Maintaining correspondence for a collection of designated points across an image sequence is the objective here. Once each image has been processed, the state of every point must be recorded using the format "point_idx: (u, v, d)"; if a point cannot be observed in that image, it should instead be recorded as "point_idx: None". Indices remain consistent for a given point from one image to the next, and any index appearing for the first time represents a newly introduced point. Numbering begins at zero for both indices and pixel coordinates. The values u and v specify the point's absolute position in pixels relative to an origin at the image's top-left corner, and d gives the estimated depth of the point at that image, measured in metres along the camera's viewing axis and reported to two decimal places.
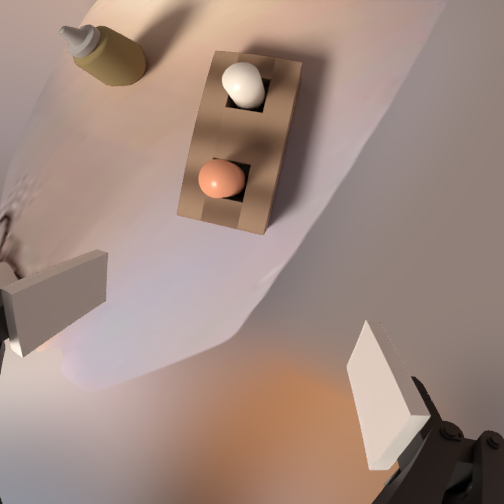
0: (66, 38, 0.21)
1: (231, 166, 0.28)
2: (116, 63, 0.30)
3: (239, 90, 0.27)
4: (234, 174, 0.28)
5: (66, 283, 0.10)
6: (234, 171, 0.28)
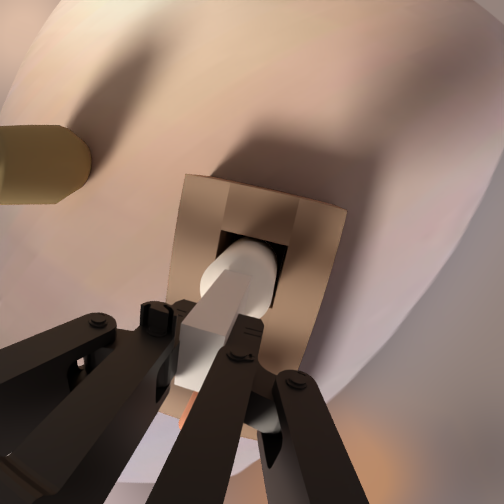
0: None
1: None
2: (33, 189, 0.19)
3: None
4: None
5: None
6: None
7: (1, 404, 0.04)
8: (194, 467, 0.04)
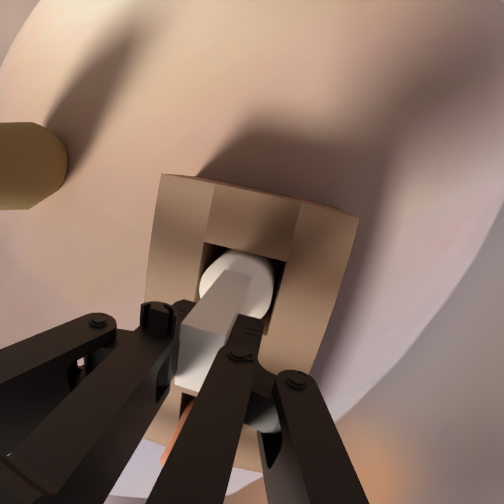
0: None
1: None
2: (0, 194, 0.15)
3: None
4: None
5: None
6: None
7: (1, 404, 0.04)
8: (194, 467, 0.04)
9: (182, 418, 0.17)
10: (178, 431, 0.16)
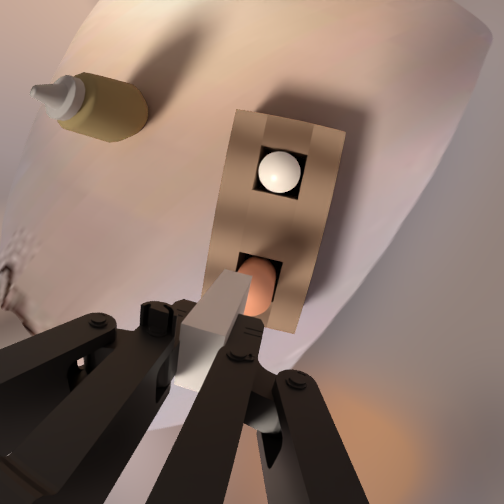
0: (41, 101, 0.18)
1: (265, 283, 0.25)
2: (110, 122, 0.26)
3: (278, 186, 0.28)
4: (269, 292, 0.25)
5: None
6: (269, 289, 0.25)
7: (1, 404, 0.04)
8: (194, 467, 0.04)
9: (240, 268, 0.29)
10: (239, 271, 0.28)
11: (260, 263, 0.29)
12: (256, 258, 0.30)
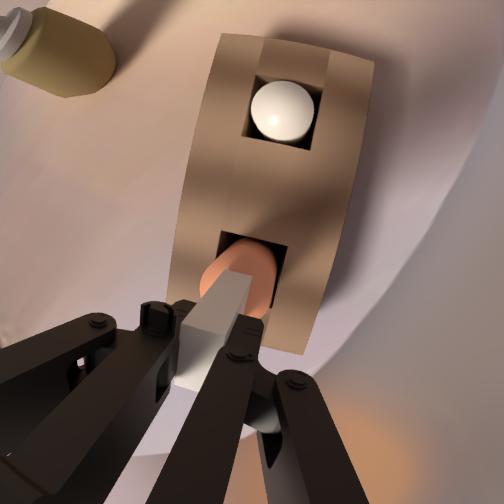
0: None
1: (262, 272, 0.15)
2: (61, 63, 0.16)
3: (280, 129, 0.17)
4: (267, 287, 0.15)
5: None
6: (267, 282, 0.15)
7: (1, 404, 0.04)
8: (194, 467, 0.04)
9: None
10: (221, 254, 0.18)
11: (254, 244, 0.19)
12: (248, 239, 0.20)
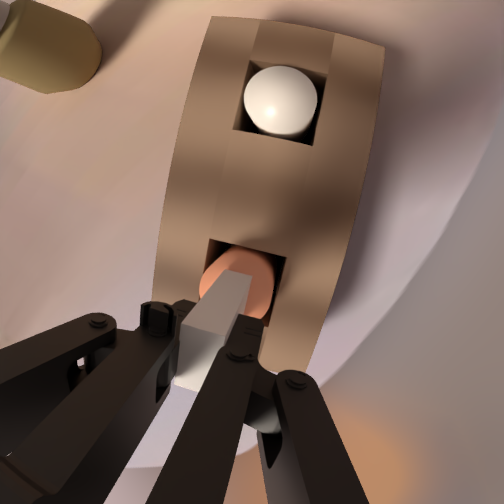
0: None
1: (261, 273, 0.15)
2: (39, 56, 0.13)
3: (278, 120, 0.15)
4: (267, 289, 0.15)
5: None
6: (267, 283, 0.15)
7: (1, 404, 0.04)
8: (194, 467, 0.04)
9: None
10: (221, 255, 0.18)
11: None
12: None
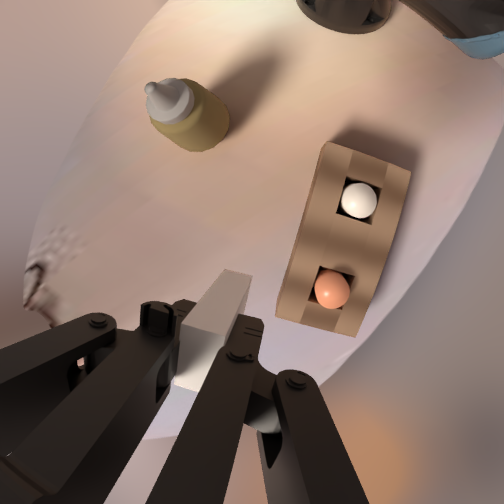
0: (154, 100, 0.22)
1: (346, 283, 0.32)
2: (207, 133, 0.30)
3: (358, 212, 0.32)
4: (348, 290, 0.33)
5: None
6: (348, 288, 0.32)
7: (1, 404, 0.04)
8: (194, 467, 0.04)
9: (319, 272, 0.36)
10: (322, 274, 0.35)
11: None
12: None
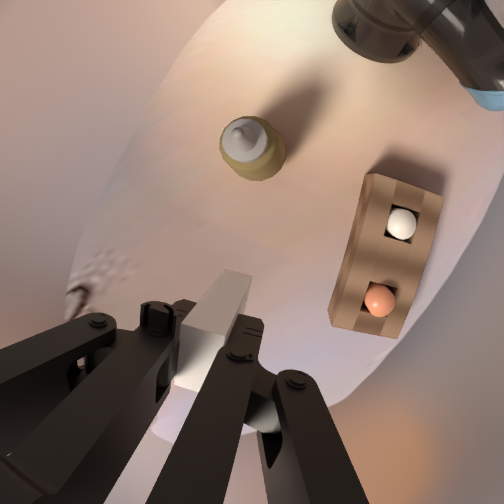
0: (238, 143, 0.26)
1: (392, 295, 0.36)
2: (272, 167, 0.34)
3: (402, 235, 0.35)
4: (393, 301, 0.36)
5: None
6: (394, 299, 0.36)
7: (1, 404, 0.04)
8: (194, 467, 0.04)
9: None
10: (371, 287, 0.38)
11: None
12: None
